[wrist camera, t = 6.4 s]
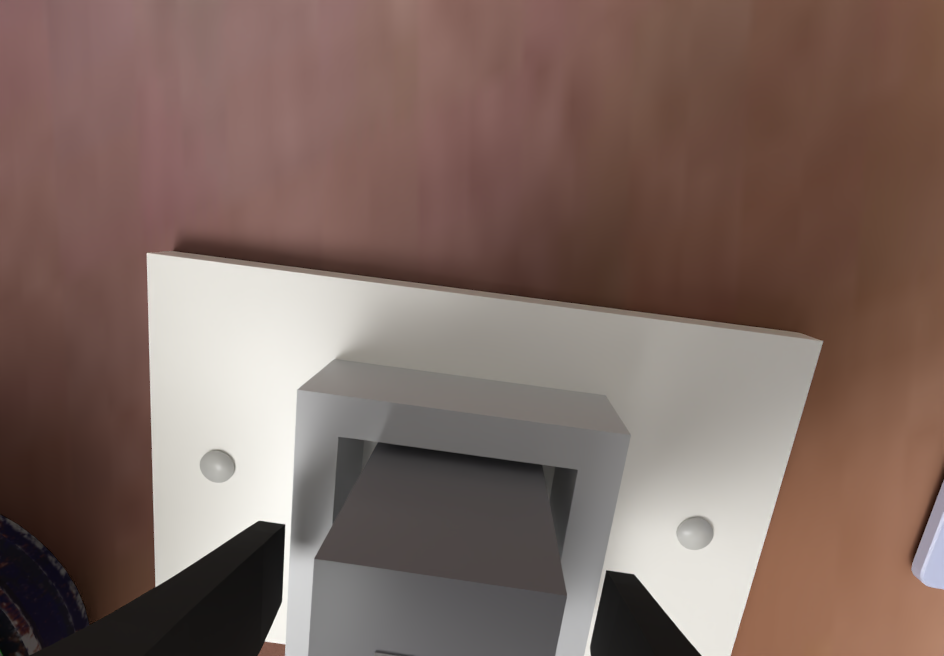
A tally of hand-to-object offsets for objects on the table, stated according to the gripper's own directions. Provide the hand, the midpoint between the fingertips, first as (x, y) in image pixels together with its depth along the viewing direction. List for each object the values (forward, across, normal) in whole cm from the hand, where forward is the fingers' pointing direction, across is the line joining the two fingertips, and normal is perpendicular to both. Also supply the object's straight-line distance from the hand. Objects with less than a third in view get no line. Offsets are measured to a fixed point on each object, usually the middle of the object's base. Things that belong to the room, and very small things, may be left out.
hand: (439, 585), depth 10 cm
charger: (+3, 0, 0) cm, 3 cm away
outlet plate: (+4, 0, 0) cm, 4 cm away
